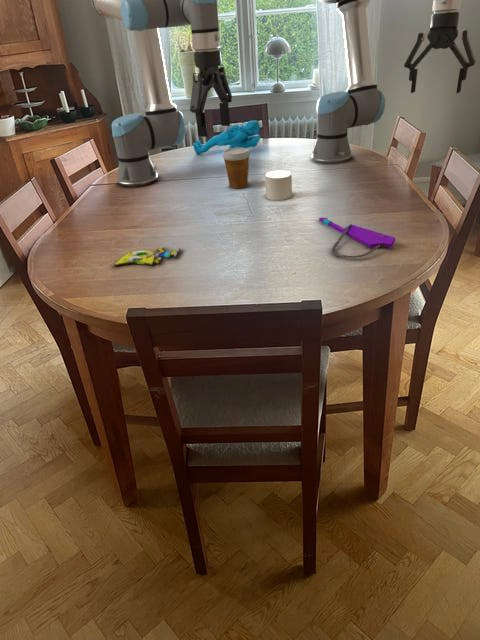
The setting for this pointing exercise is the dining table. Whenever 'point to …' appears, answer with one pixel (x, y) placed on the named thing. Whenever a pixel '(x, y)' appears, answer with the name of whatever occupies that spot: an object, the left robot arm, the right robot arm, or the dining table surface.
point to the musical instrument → (361, 237)
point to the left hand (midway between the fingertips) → (214, 131)
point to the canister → (278, 185)
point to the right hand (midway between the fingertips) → (435, 92)
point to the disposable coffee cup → (237, 166)
